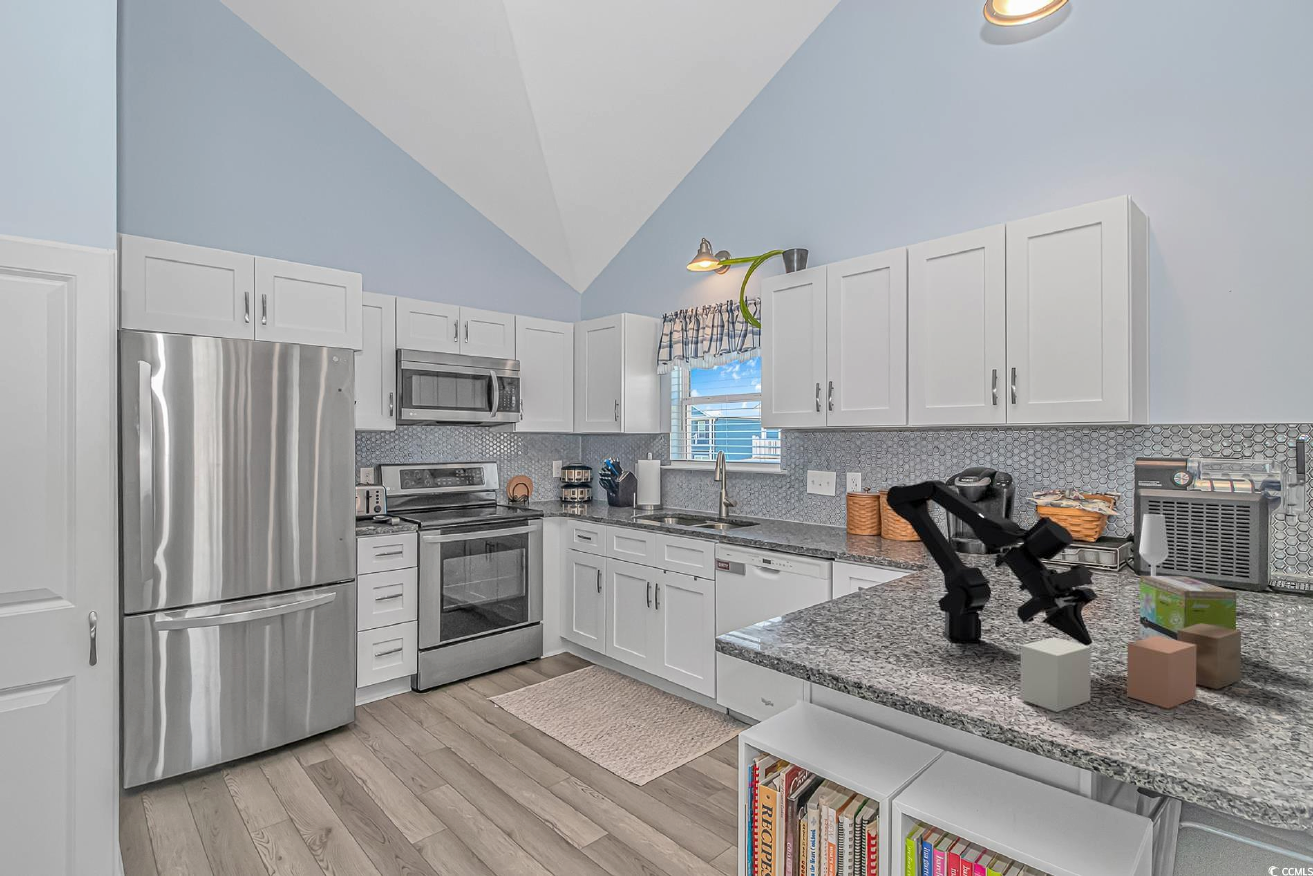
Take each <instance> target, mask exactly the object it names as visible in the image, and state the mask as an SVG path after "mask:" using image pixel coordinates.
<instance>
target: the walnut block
mask: <svg viewBox="0 0 1313 876" xmlns="http://www.w3.org/2000/svg"><path fill="white" fill-rule="evenodd" d="M1177 641H1181V642H1186V643H1190V644H1195V645H1196V685H1199V686H1203V687H1206V688H1211V689H1214V690H1219V689H1222V688H1224V687H1226V686H1229V685H1231V684H1234V683H1237V682H1239V681H1241V678H1242V677H1241V675H1242V674H1241V673H1242V672H1241V671H1242V670H1241V669H1242V668H1241V667H1242V660H1241V659H1242V657H1241V656H1242V631H1241V630H1237V629H1236V630H1233V629H1228V628H1223V627H1218V626H1213V625H1208V624H1203V623H1200V624H1197V625H1193V626H1190V627H1186V628H1182V629H1179V630H1177Z"/></svg>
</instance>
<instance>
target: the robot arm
mask: <svg viewBox="0 0 1313 876" xmlns="http://www.w3.org/2000/svg"><path fill="white" fill-rule="evenodd" d="M885 500H886V503H887V505H888V506H889V508H890V509H891V510H892V511H893V512H894V513H895V514H896V515H897V516H899V517H900V518H902V519H903V520H905V521H906V522H908V523H909V524H910V526H911V527H912V529H913V531H914V532H915V534H916V535H917V536H918V538H919V540H920V541H921V542H922V544H923V545H924V547H925V548H926V550H927V551H928V553H929V554H930V556H931V557H932V560H934V562H935V564H937V567H938V568H939V569H940V571H941V572H942V574H943V579H944V587H945V590H946V592H947V593H946V594H945V595H944V596H942V598H940V599H939V600H938V606H939V608H940V611H942V612H943V613H944V631H942V633H941V634H942V635H943V636H944V637H945V638H946V639H947V640H948V641H950V642H951V643H952V642H953V643H968V644H982V640H981V638H982V619H980V613H979V612H983V611H984V609H985V607H986V605H987V604H988V602H989V601H990V599H991V596H992V595H991V594H992V589H991V587H990V585H989V584H990V581H989V580H988V579H987V578H986V577H985V576H984V575H983V571H981V569H980V568H979V567H978V566H972V567H969V566H968V565H966V564H965V563H964V562H963V560H962V559H961V558H960V557H959V555H958V554H957V552H956V551H955V549H954V548H953V546H952V545H951V544H950V542H949V541H948V539H947V538H946V536H945V535H944V534H943V532H942V531H941V529H940V527H939V526H938V525H937V524H936V522H935V520H934V519H933V518H932V517H931V515H930V514H929V508H928V502H929V501H933V502H934V503H935V504H937V505H938V506H940V507H942V508H943V509H944V510H946V511H947V512H948V513H950V514H952V515H953V516H955V517H956V518H957V519H958V520H960V521H961V522H963V523H965V524H966V525H967V526H968V527H969V528H970V529H971V530H972V532H973V535H974V536H975V537H976V538H977V539H978V540H979V541H980V542H981V543H982V544H983V545H984V546H985V547H986V548H988V549H992V550H1000V549H1008V550H1007V551H1006V552H1005V553H1003V552H1001V553H997V554H995V556H996V558H995V559H996V560H995V563H994V566H995V567H996V568H1002V567H1008V569H1009V570H1010V571H1011V573H1012V574H1013V575H1014V576H1015V577H1016V578H1017V580H1018V581H1019V582H1020V584H1021V585H1019V586H1018V588H1019V589H1020V591H1021V592H1024V591H1026V592H1027V593H1028V594H1029V595H1030V596H1031V598H1030V599H1028V600H1027V601H1026V602H1024V603H1023V604H1022V605H1020V606H1018V607H1017V611H1016V612H1017V613H1016V616H1017V617H1018V618H1019V619H1020V621H1021V622H1022V624H1027V623H1032V622H1033V621H1034V617H1035V616H1037V615H1039V614H1041V613H1045V614H1044V615H1045V617H1046V618H1044V619H1043V620H1042V621H1041V622H1042V623H1043V624H1047V625H1049V626H1051V627H1052V628H1055V629H1057V630H1058V631H1060V632H1061V633H1064V634H1065V635H1067V636H1069V638H1072V639H1073V640H1075V641H1077V642H1079V644H1082V645H1085V646H1090V645H1092V643H1093V640H1092V638H1091V635H1090V634H1089V631H1088V628H1087V626H1086V624H1085V622H1084V618H1083V616H1082V615H1083V614H1082V611H1083V608H1085V607H1086V606H1087V605H1088V604H1090V603H1091V602H1093V601H1095V600H1096V599H1097V598H1098V597H1099V596H1098V594H1097V593H1096V592H1095V591H1094V590H1093V589H1092V588H1091V587H1087V586H1089V585H1093V579H1092V577H1093V576H1094V572H1093V571H1091V570H1090V569H1089V567H1086V566H1085V565H1084V564H1083V563H1079V564H1075V565H1070V570H1066V571H1062V572H1058V571H1057V570H1056V569H1054V568H1050V569H1049V568H1048V567H1047V566H1046V565H1045V563H1044V562H1043V561H1042V560H1046V561H1051V560H1053V559H1054V558H1055V557H1056V556H1057V555H1059V554H1060V553H1061V552H1063V551H1064V550H1065V549H1067V548H1068V547H1069V546H1071V545H1072V544H1073V543H1074V541H1075V540H1074V537H1073V535H1072V534H1071V532H1070V531H1069V530H1068V529H1067V528H1066V527H1064V526H1063V525H1061V524H1060V523H1058V522H1056V521H1053V519H1052V518H1051V517H1049V516H1043V517H1042V516H1041V518H1039V519H1038V521H1037V522H1036V523H1035V524H1034V525H1033V526H1031V527H1030V528H1029V529H1026V528H1022V527H1020V525H1019V524H1018V523H1017V522H1015V521H1013V520H1011V519H1009V518H1006V517H1004V516H1002V515H999V514H995V513H992V512H989V511H986V510H985V509H983V508H981V507H980V506H978V505H977V504H975V503H973V501H971V500H969V499H968V498H966V497H964V496H963V495H962V494H961V493H958V492H957V491H956V490H955V489H953V488H951V487H949V486H948V485H946V483H945V482H944V481H942V480H939V479H936V480H935V479H934V480H932V479H931V480H924V482H923V481H922V482H919V483H915V484H911V485H908V484H907V485H905V484H904V485H894V486H891V487H890V488H889V489H888V491H887V494H886V498H885ZM1020 543H1021V544H1020ZM1019 544H1020V545H1019ZM1018 545H1019V546H1018ZM1085 585H1086V586H1085ZM1081 586H1082V587H1081Z"/></svg>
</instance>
